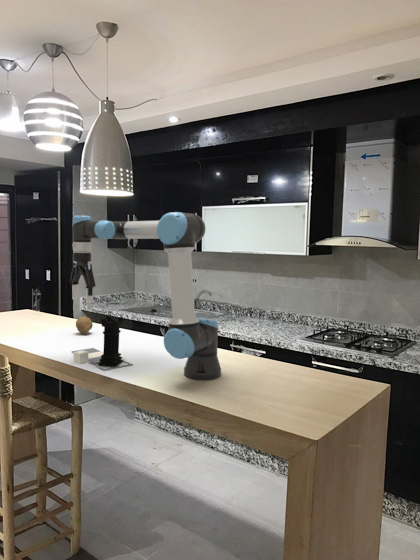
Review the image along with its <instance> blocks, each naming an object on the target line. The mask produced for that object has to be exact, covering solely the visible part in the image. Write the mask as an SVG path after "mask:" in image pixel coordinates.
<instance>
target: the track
mask: <svg viewBox="0 0 420 560" xmlns="http://www.w3.org/2000/svg"><path fill="white" fill-rule="evenodd" d="M81 350H83V351H87V352H88V363H89V362H93V363H94V364H96V365H98V363H99V362H100V361H99V360H100V359H101V355H103V354H104V351H101V350H99V349H96V348H95V347H90V348H84V349H78V350H71V353H72V354H73V352H76V351H81Z"/></svg>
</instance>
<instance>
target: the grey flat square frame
mask: <svg viewBox="0 0 420 560" xmlns="http://www.w3.org/2000/svg"><path fill="white" fill-rule="evenodd" d="M121 360H123V362H122V363H125V364H123V365H118V366H117V367H108V368H103V367H102V366H100V365H98V364H94V363H93V362H89V361H88V364H90V365H92V366H93V365H94V367H95V366H96V367H95V368H97V367H98V368H97V369H99V370H102V371H103V372H105V371H110V370H115V369H120V368H125V367H129V366H133V365H134V364H133V363H132V362H128V361H126V360H124V359H123V358H122V359H121Z"/></svg>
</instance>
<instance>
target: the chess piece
mask: <svg viewBox="0 0 420 560" xmlns="http://www.w3.org/2000/svg"><path fill="white" fill-rule="evenodd" d="M123 322H124V317H121V316H119V317H118V319H114V318H112V315H106V318H104V317H103V318H101V319H100V323H101V327H103V328H104V329H103V331H102V334H103V353H104V354H103V355H101V359H100V360H99V361H100V362H99V363H98V364H97V365H98V366H100V367H108V368H113V367H118V366H121V365H122V363H124V362H123V360H124V359H123V356H121V355H122V353H121V352H119V349H120V348H119V347H120V333H121V330H120V327H121V326H122V325H123ZM121 359H122V360H121Z"/></svg>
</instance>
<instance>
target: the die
mask: <svg viewBox="0 0 420 560" xmlns="http://www.w3.org/2000/svg"><path fill="white" fill-rule="evenodd" d="M80 350H81V351H77V350H75V351H76V352H73V353H72V354H73V363H76V364H78V363H79V365H81V363H82V364H85V363H89V361H88V352H87V351H83V349H80Z"/></svg>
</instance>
